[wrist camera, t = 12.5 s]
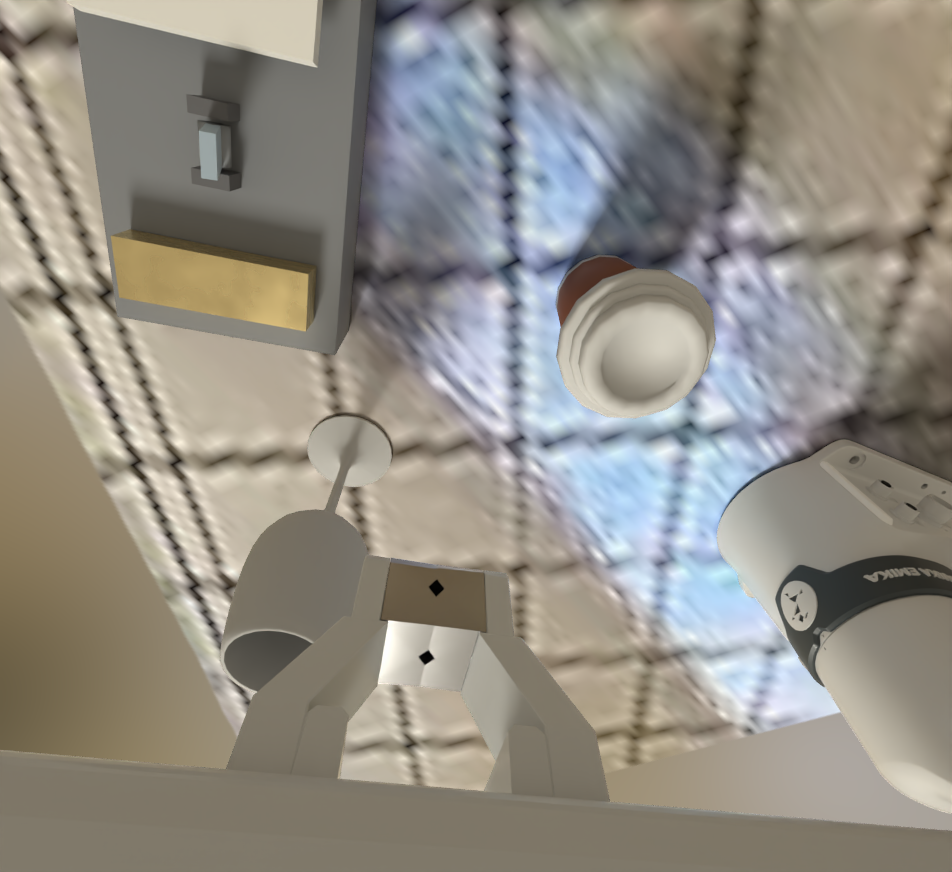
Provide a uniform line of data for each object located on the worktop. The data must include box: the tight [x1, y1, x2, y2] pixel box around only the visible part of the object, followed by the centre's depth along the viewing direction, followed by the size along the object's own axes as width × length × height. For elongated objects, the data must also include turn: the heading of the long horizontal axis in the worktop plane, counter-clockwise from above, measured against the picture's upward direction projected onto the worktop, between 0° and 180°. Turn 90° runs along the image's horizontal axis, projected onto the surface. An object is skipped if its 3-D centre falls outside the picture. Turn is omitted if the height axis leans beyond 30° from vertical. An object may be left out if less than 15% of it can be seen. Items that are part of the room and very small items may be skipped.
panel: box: [73, 0, 377, 355], centre depth 31 cm, size 14×23×7 cm, turn 168°
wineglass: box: [220, 415, 392, 693], centre depth 37 cm, size 8×8×21 cm
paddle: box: [197, 120, 232, 181], centre depth 27 cm, size 2×2×6 cm
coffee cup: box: [556, 255, 716, 418], centre depth 35 cm, size 9×9×12 cm
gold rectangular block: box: [111, 229, 317, 331], centre depth 33 cm, size 11×4×2 cm, turn 79°
